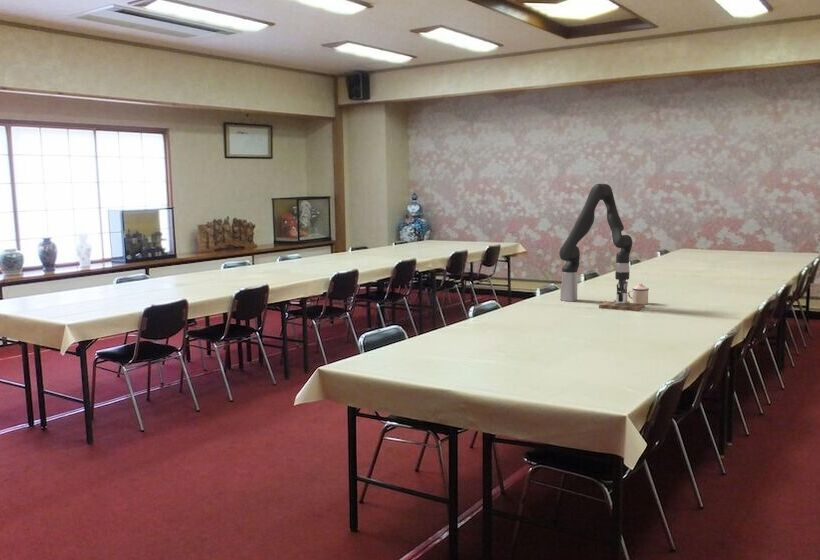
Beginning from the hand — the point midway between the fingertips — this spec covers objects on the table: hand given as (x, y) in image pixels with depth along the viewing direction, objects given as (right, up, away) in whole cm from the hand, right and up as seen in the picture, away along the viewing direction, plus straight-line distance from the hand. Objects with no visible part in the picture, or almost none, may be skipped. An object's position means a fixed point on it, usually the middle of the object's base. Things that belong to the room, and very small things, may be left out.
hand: (621, 300), depth 414 cm
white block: (0, -1, 0) cm, 1 cm away
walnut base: (0, -4, +1) cm, 4 cm away
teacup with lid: (+13, -2, +15) cm, 20 cm away
